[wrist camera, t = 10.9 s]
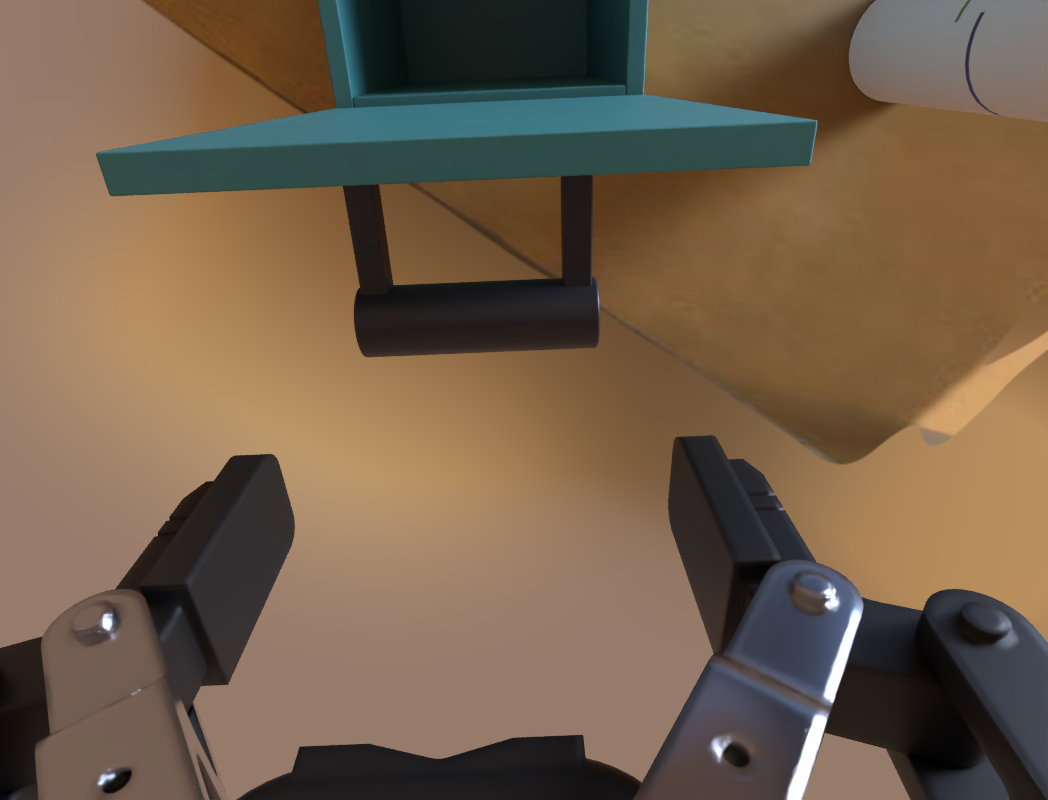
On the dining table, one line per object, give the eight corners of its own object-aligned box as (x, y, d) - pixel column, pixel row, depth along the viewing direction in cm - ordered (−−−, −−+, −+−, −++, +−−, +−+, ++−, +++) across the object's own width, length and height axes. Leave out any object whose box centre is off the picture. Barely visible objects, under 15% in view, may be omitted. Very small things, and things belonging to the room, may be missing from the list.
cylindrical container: (834, 97, 43) (1159, 140, 22) (869, -25, 40) (1298, -122, 18) (932, 105, 44) (1350, 155, 22) (975, -16, 40) (1523, -100, 18)
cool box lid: (94, 152, 12) (180, 405, 14) (819, 119, 11) (775, 380, 14) (333, 108, 27) (354, 233, 29) (646, 94, 27) (640, 221, 29)
